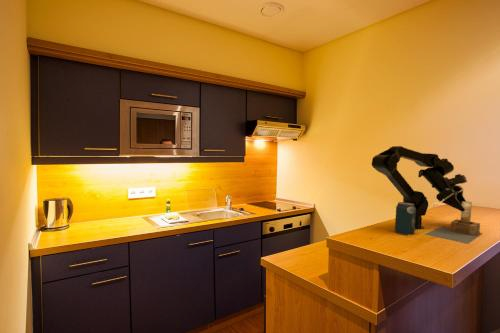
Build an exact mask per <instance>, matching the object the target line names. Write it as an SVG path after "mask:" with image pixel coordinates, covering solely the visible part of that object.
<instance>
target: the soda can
mask: <svg viewBox="0 0 500 333" xmlns="http://www.w3.org/2000/svg"><path fill="white" fill-rule="evenodd" d="M415 216H416V208H415V206H414V204H413V203H407V202H403V201H399V202H397V205H396V206H395V218H394V220H395V221H394V222H395V223H394V230H395V232H396V233H397V234H399V235H403V236H409V235H413V234H414V233H415V231H416V229H415Z"/></svg>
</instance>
